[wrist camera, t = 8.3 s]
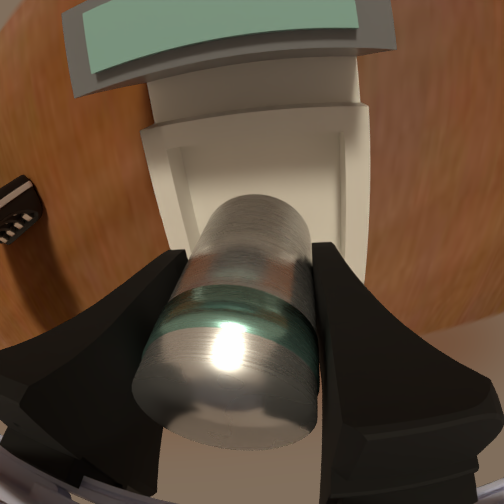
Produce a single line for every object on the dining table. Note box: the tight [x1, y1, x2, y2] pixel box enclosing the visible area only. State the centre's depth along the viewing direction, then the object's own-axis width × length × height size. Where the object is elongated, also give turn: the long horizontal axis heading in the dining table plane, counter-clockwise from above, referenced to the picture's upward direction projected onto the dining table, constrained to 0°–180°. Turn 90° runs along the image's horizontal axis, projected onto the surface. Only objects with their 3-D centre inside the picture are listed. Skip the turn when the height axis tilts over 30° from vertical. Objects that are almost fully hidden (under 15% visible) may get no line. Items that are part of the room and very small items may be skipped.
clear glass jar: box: [132, 194, 320, 450], centre depth 9 cm, size 4×4×7 cm
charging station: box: [62, 0, 397, 284], centre depth 11 cm, size 9×14×6 cm, turn 7°
